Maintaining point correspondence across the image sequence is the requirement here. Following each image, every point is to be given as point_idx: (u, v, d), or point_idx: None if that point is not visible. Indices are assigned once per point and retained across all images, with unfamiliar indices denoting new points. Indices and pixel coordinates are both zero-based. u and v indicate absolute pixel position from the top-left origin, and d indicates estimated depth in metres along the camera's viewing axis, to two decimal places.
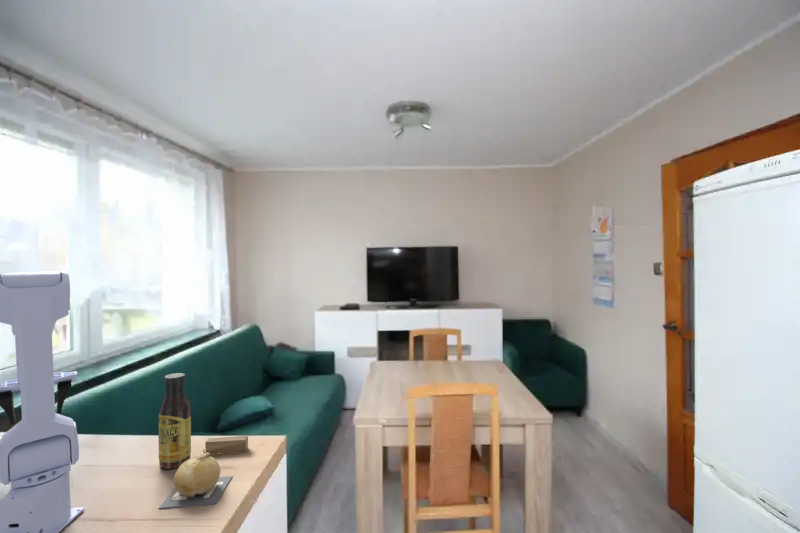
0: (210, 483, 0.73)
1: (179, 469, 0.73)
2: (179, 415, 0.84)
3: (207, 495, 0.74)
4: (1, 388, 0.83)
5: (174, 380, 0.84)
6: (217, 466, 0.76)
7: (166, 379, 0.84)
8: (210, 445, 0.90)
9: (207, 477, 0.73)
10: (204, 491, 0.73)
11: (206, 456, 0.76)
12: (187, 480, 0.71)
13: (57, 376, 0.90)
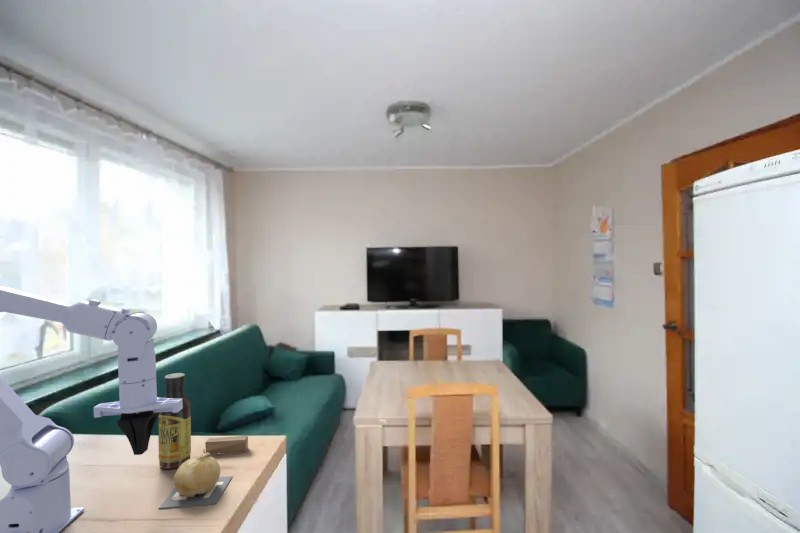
0: (210, 483, 0.73)
1: (179, 469, 0.73)
2: (179, 415, 0.84)
3: (207, 495, 0.74)
4: (104, 409, 0.69)
5: (174, 380, 0.84)
6: (217, 466, 0.76)
7: (166, 379, 0.84)
8: (210, 445, 0.90)
9: (207, 477, 0.73)
10: (204, 491, 0.73)
11: (206, 456, 0.76)
12: (187, 480, 0.71)
13: (160, 402, 0.71)
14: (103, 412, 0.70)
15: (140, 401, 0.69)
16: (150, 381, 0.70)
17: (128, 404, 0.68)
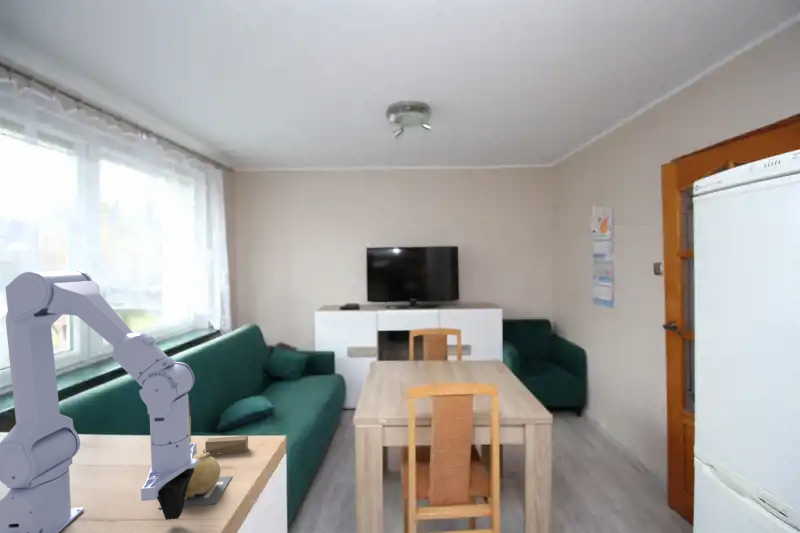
0: (210, 483, 0.73)
1: None
2: None
3: (207, 495, 0.74)
4: None
5: None
6: (217, 466, 0.76)
7: None
8: (210, 445, 0.90)
9: (207, 477, 0.73)
10: (204, 491, 0.73)
11: (206, 456, 0.76)
12: None
13: None
14: None
15: None
16: (156, 447, 0.63)
17: None
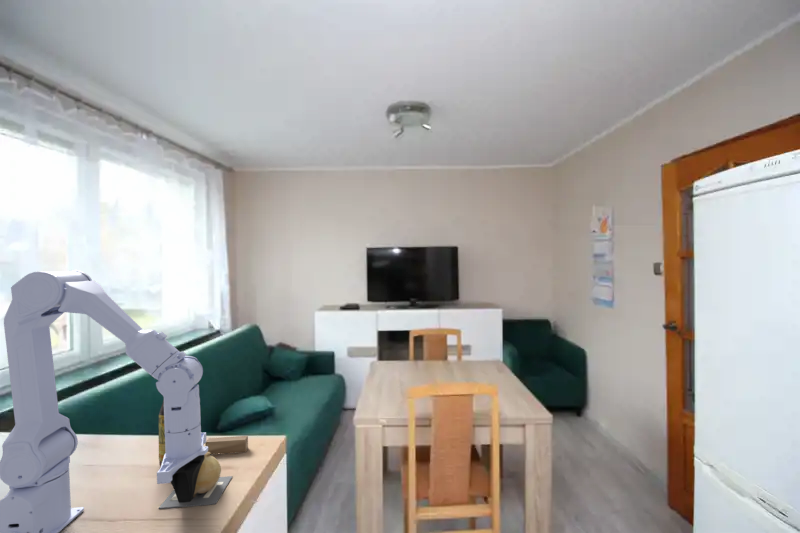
0: (210, 482, 0.73)
1: None
2: None
3: (207, 495, 0.74)
4: None
5: None
6: (218, 465, 0.76)
7: None
8: (210, 445, 0.90)
9: (207, 476, 0.73)
10: (205, 490, 0.73)
11: (207, 455, 0.76)
12: None
13: None
14: None
15: None
16: (170, 435, 0.67)
17: None
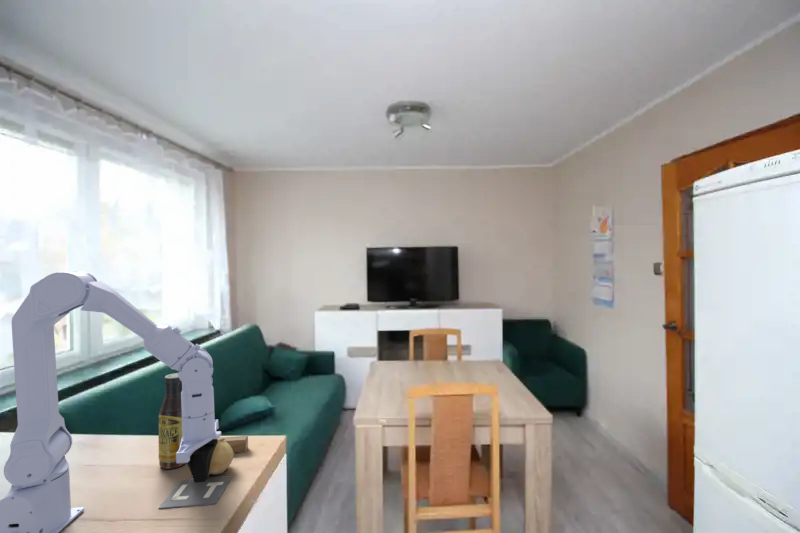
0: (223, 464, 0.80)
1: None
2: (179, 415, 0.84)
3: (207, 495, 0.74)
4: None
5: (174, 380, 0.84)
6: (230, 450, 0.82)
7: (166, 379, 0.84)
8: None
9: (220, 458, 0.79)
10: (218, 472, 0.79)
11: (221, 440, 0.83)
12: None
13: None
14: None
15: None
16: (187, 420, 0.74)
17: None
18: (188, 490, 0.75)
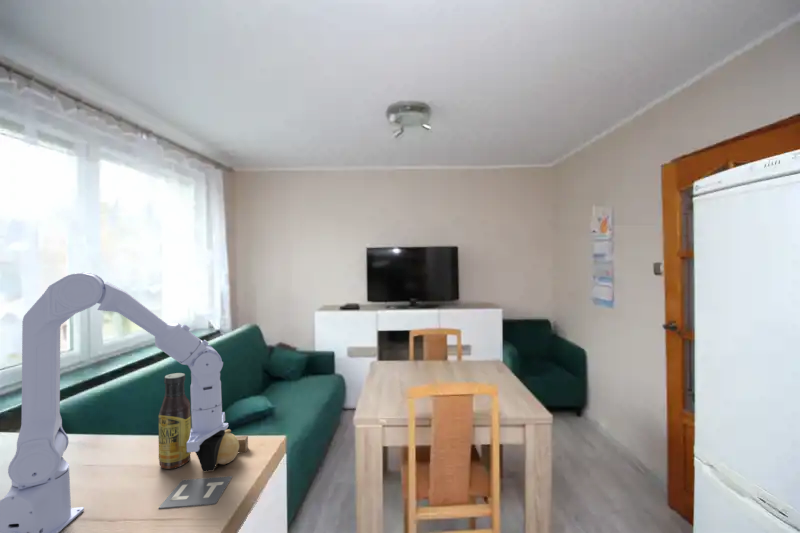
0: (230, 455, 0.84)
1: None
2: (179, 415, 0.84)
3: (207, 495, 0.74)
4: None
5: (174, 380, 0.84)
6: (236, 441, 0.87)
7: (166, 379, 0.84)
8: None
9: (227, 449, 0.83)
10: (225, 461, 0.83)
11: (227, 432, 0.87)
12: None
13: None
14: None
15: (192, 425, 0.79)
16: (196, 411, 0.78)
17: None
18: (188, 490, 0.75)
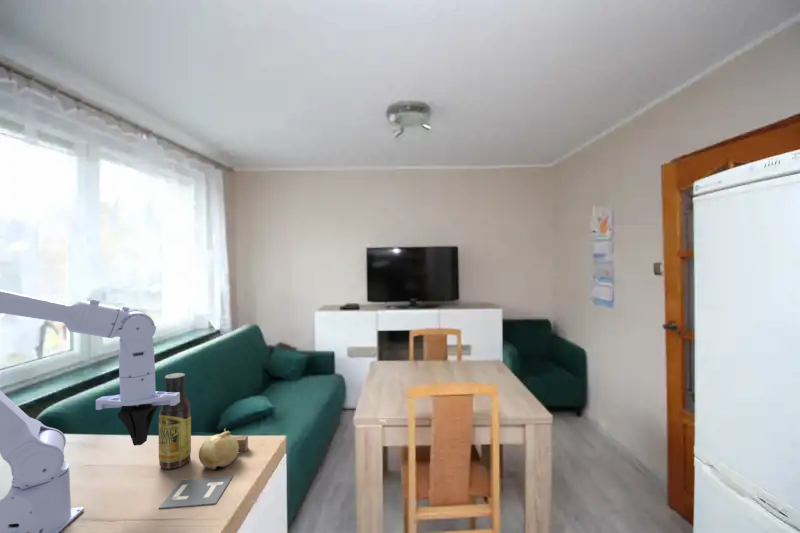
0: (229, 457, 0.83)
1: (203, 444, 0.84)
2: (179, 415, 0.84)
3: (207, 495, 0.74)
4: (105, 402, 0.73)
5: (174, 380, 0.84)
6: (236, 443, 0.86)
7: (166, 379, 0.84)
8: None
9: (227, 452, 0.83)
10: (224, 464, 0.83)
11: (226, 434, 0.86)
12: (210, 453, 0.82)
13: (158, 396, 0.75)
14: (104, 405, 0.74)
15: (139, 394, 0.73)
16: (149, 375, 0.74)
17: (128, 397, 0.72)
18: (188, 490, 0.75)
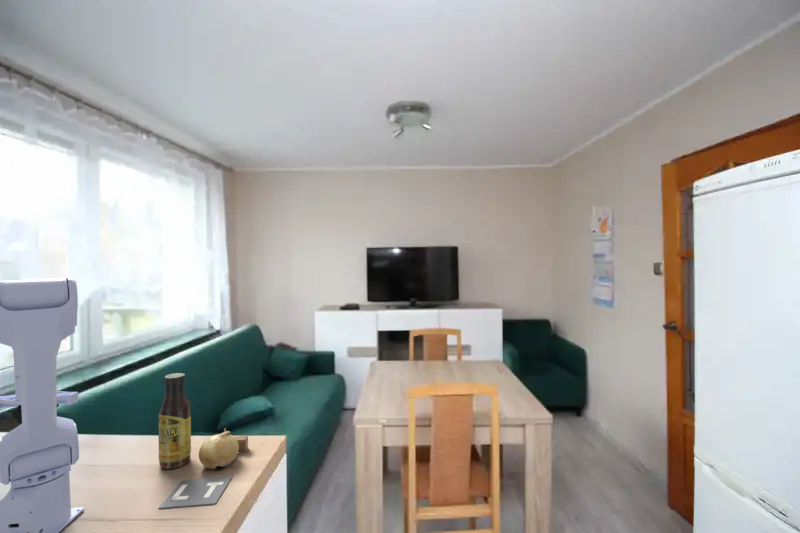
0: (229, 457, 0.83)
1: (203, 444, 0.84)
2: (179, 415, 0.84)
3: (207, 495, 0.74)
4: (1, 401, 0.75)
5: (174, 380, 0.84)
6: (236, 443, 0.86)
7: (166, 379, 0.84)
8: None
9: (227, 452, 0.83)
10: (224, 464, 0.83)
11: (226, 434, 0.86)
12: (210, 453, 0.82)
13: None
14: (1, 404, 0.76)
15: None
16: None
17: None
18: (188, 490, 0.75)
